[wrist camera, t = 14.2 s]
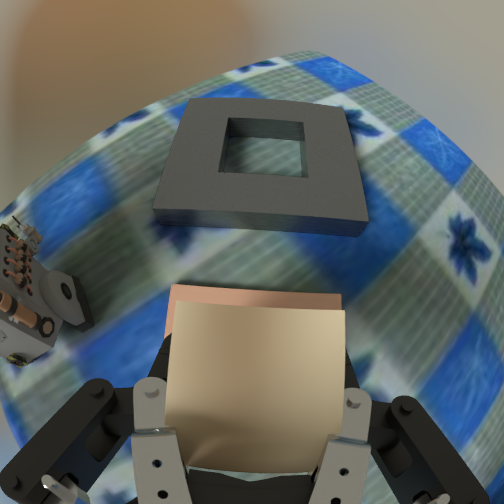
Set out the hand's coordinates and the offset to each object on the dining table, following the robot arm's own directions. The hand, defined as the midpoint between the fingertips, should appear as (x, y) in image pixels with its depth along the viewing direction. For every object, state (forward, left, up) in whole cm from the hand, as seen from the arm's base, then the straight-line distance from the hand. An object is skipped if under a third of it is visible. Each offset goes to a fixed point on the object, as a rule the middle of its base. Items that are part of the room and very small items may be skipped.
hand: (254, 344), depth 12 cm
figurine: (+18, -1, -7) cm, 19 cm away
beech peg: (0, +2, -4) cm, 5 cm away
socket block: (0, -16, -6) cm, 17 cm away
